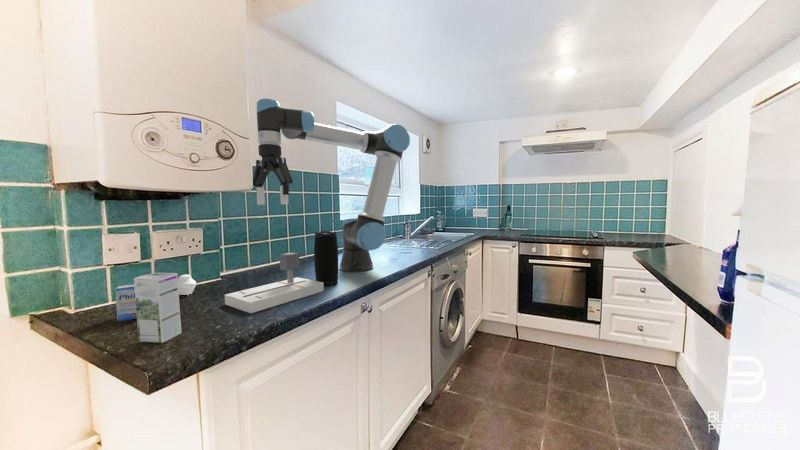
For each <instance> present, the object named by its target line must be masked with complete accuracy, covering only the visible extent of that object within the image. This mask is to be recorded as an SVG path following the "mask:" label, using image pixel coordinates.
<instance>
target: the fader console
mask: <svg viewBox="0 0 800 450" xmlns="http://www.w3.org/2000/svg"><path fill="white" fill-rule="evenodd" d="M324 291H325V287H324V286H323V282H319V281H316V280H313V279H307V278H303V277H298V276H297V277H294V283H291V284H289V283H287V279H285V280H281V281H280V280H279V281H276V282H273V283H272V282H271V283H268V284H263V285H259V286H256V287H255V286H254V287H251V288H246V289H242V290H239V291H234V292H230V293H226V294H224V304H225V306H229V307H232V308H234V309H236V310H240V311H243V312H246V313H249V314H253V313H257V312H260V311H264V310H266V309H271V308H274V307H276V306H279V305H282V304H283V305H284V304H286V303H289V302H292V301H295V300H299V299H302V298H305V297H308V296H309V297H310V296H312V295H315V294H318V293H321V292H324Z"/></svg>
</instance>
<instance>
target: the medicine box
mask: <svg viewBox="0 0 800 450" xmlns="http://www.w3.org/2000/svg"><path fill="white" fill-rule="evenodd" d="M114 291H115V305H116V307H115V308H116V319H117V320H116V321H117V322H122V321H123V322H124V321H129V320H137V314H136V301H135V289H134V283H133V284H126V285H125V284H123V285H119V286H117V287H116V288H115V289H114Z"/></svg>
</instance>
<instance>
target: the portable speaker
mask: <svg viewBox="0 0 800 450" xmlns="http://www.w3.org/2000/svg"><path fill="white" fill-rule="evenodd" d="M313 246H314V248H313V256H314V259H313V260H314V275H315V281H319V282H323V286H324V288H326V287H331V286H332V285H333V284H338V283H339V281H338V279H339V244H338V236H337V231H333V232H332V231H330V230H329V231H328V230H322V231H319V232H314V245H313Z"/></svg>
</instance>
